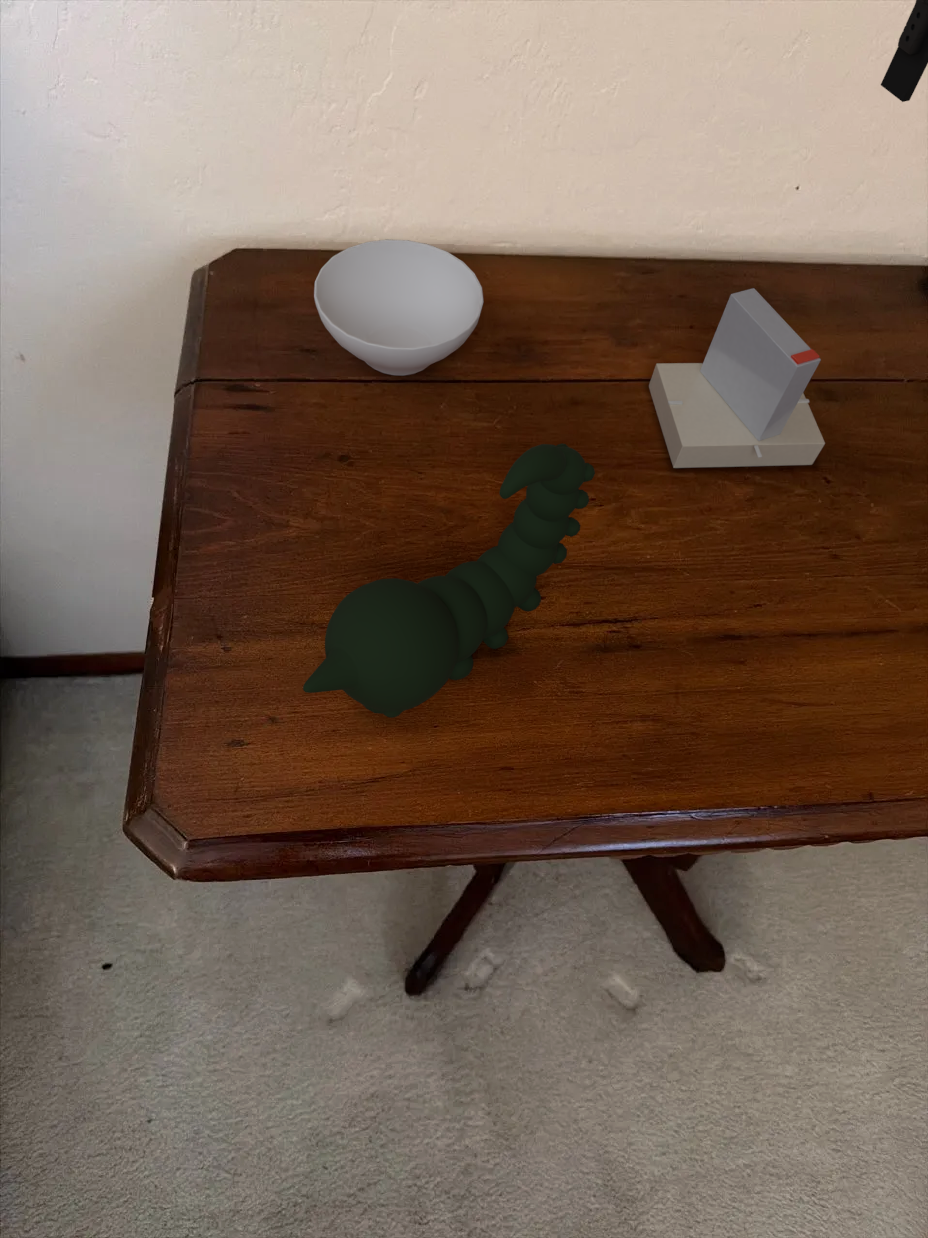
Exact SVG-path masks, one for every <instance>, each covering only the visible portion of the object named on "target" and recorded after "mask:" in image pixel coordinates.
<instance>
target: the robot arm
mask: <svg viewBox="0 0 928 1238" xmlns="http://www.w3.org/2000/svg"><path fill="white" fill-rule="evenodd" d="M927 66H928V0H915V4H914V5H913V7H912V10H911V12H910V14H909V16H908V18H907V21H906V23H905V25H904V27H903V30H902V32H901V34H900V36H899V38H898V42H897V47H896V50H895V53H894V55H893V57H892V59H891V61H890V63H889V66H888V68H887V69H886V72H885V73H884V77H883V79H882V81H881V83H880V86H881V87H882V88H884V89H885V90H886V91H888V92H889V93H890V94H891V95H893V96H894V97H895V98H897V99H898V100H899V101H901V103H904V102H909V101H910V100H911V98H912V96H913V94H914V93H915V90H916V88H917V87H918V85H919V82H920V80H921V78H922V76H923V74H924V72H925V70H926V69H927Z"/></svg>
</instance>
